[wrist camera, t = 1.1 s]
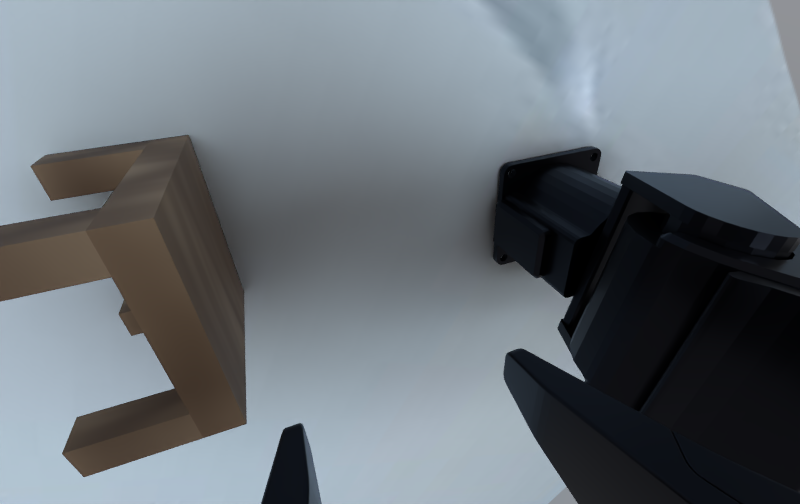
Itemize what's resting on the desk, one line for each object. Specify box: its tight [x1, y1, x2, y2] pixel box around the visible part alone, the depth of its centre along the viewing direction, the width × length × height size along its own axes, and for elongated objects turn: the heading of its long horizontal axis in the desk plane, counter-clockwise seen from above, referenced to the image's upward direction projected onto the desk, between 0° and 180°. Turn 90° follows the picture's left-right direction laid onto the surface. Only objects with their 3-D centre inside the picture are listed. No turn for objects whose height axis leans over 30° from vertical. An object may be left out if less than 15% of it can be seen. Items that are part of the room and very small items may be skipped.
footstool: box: [0, 135, 247, 477], centre depth 14 cm, size 5×8×8 cm, turn 6°
